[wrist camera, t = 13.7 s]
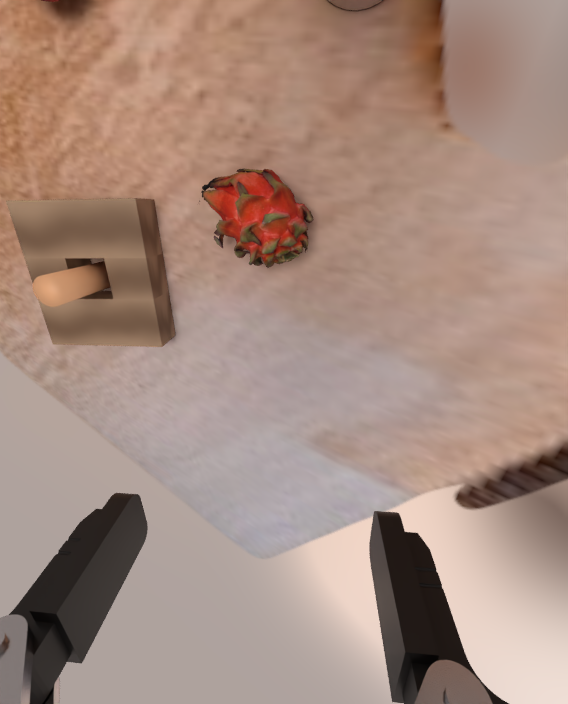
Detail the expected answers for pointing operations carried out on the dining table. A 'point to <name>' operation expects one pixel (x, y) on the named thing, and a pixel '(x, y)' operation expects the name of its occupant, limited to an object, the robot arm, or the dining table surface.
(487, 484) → the dining table surface
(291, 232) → the dragon fruit
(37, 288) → the peg
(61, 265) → the hole block
